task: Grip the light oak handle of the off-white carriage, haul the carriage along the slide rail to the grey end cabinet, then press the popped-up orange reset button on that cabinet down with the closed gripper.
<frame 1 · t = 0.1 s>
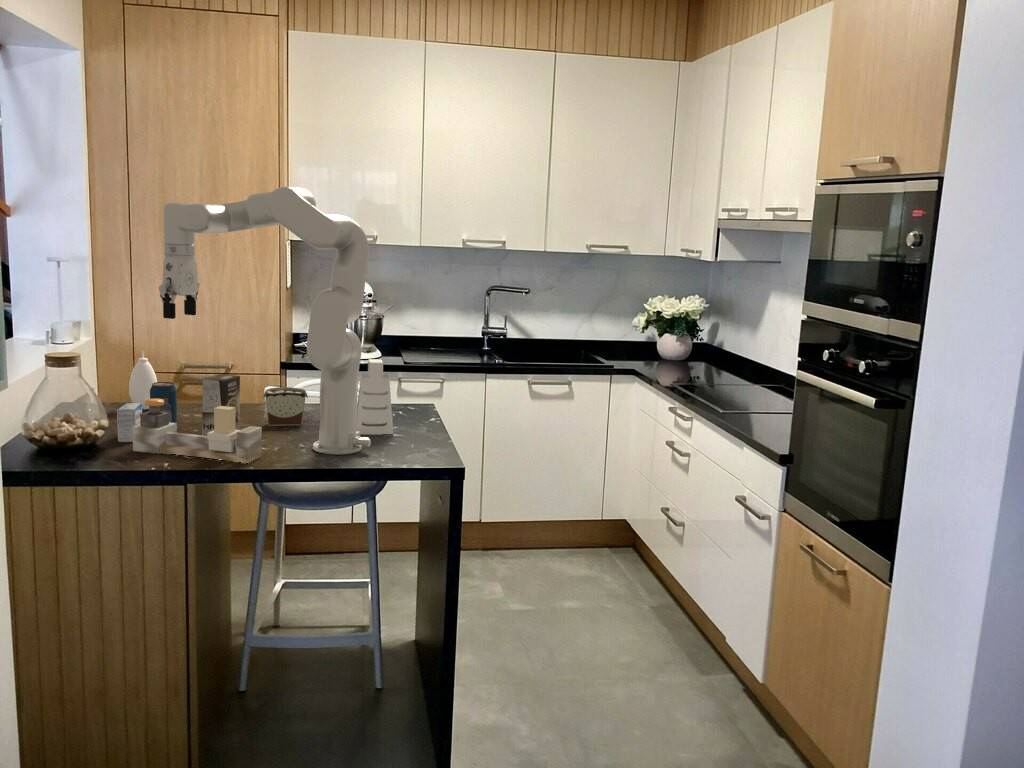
hand: (180, 316, 241), 31 cm above the countertop, tool pointing down, fingers open, 9 cm apart
slide rail: (202, 454, 226), on the countertop
grater: (373, 430, 261), on the countertop
reset button: (154, 407, 226), point 10 cm above the countertop, slide at 0.0 cm
soda can: (163, 427, 251), on the countertop
medicine box: (130, 439, 236), on the countertop
sauce bottle: (143, 410, 269), on the countertop
coffee box: (221, 436, 244), on the countertop
food container: (284, 423, 263), on the countertop
carriage: (224, 428, 223), point 7 cm above the countertop, slide at 0.0 cm
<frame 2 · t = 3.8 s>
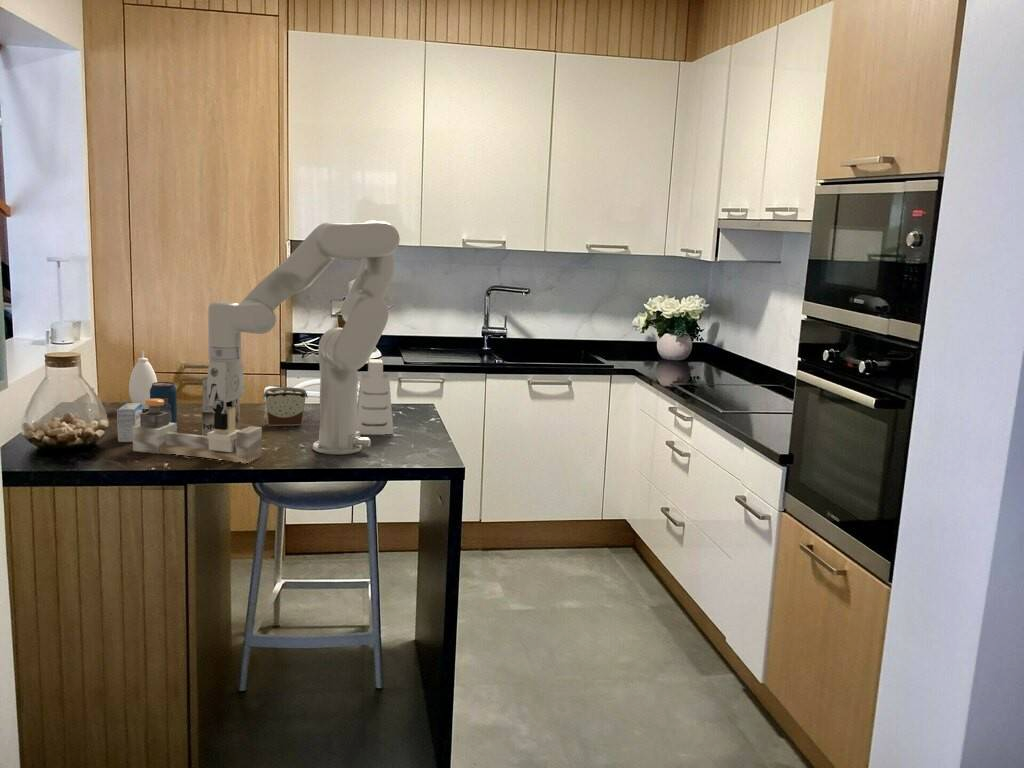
hand: (224, 426, 223), 8 cm above the countertop, tool pointing down, fingers closed on carriage, 3 cm apart
carriage: (224, 428, 223), point 7 cm above the countertop, slide at 0.0 cm, touching gripper
everything else where it was.
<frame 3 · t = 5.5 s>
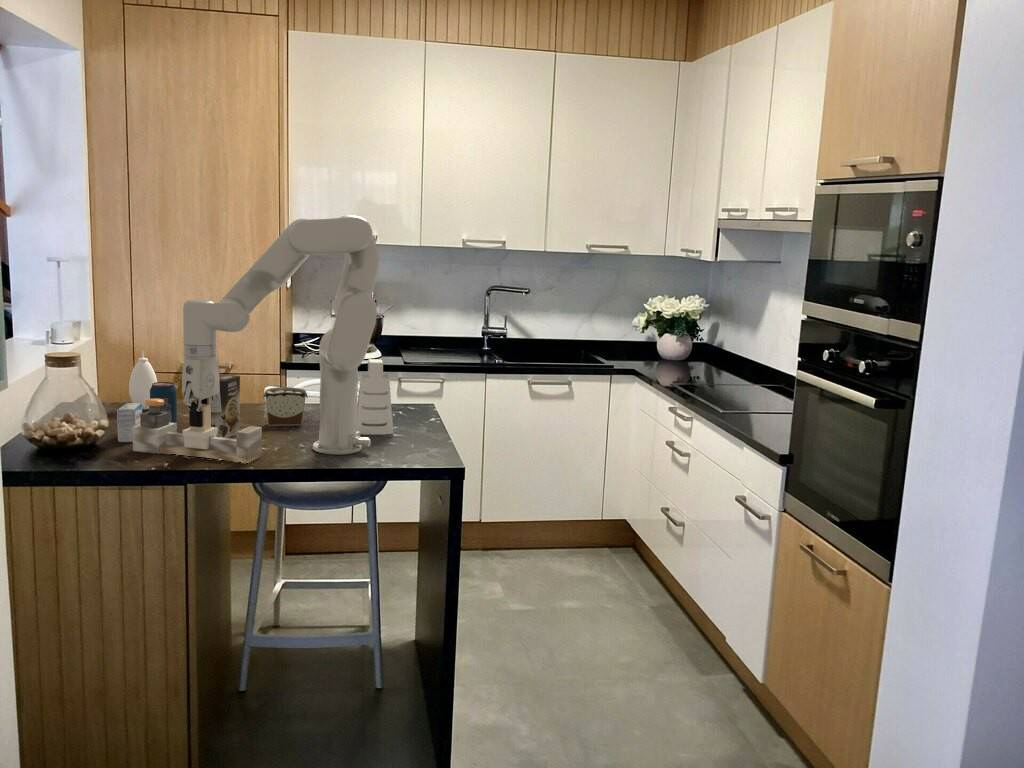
hand: (200, 424, 224), 8 cm above the countertop, tool pointing down, fingers closed on carriage, 3 cm apart
carriage: (200, 425, 224), point 7 cm above the countertop, slide at 6.6 cm, touching gripper
everything else where it was.
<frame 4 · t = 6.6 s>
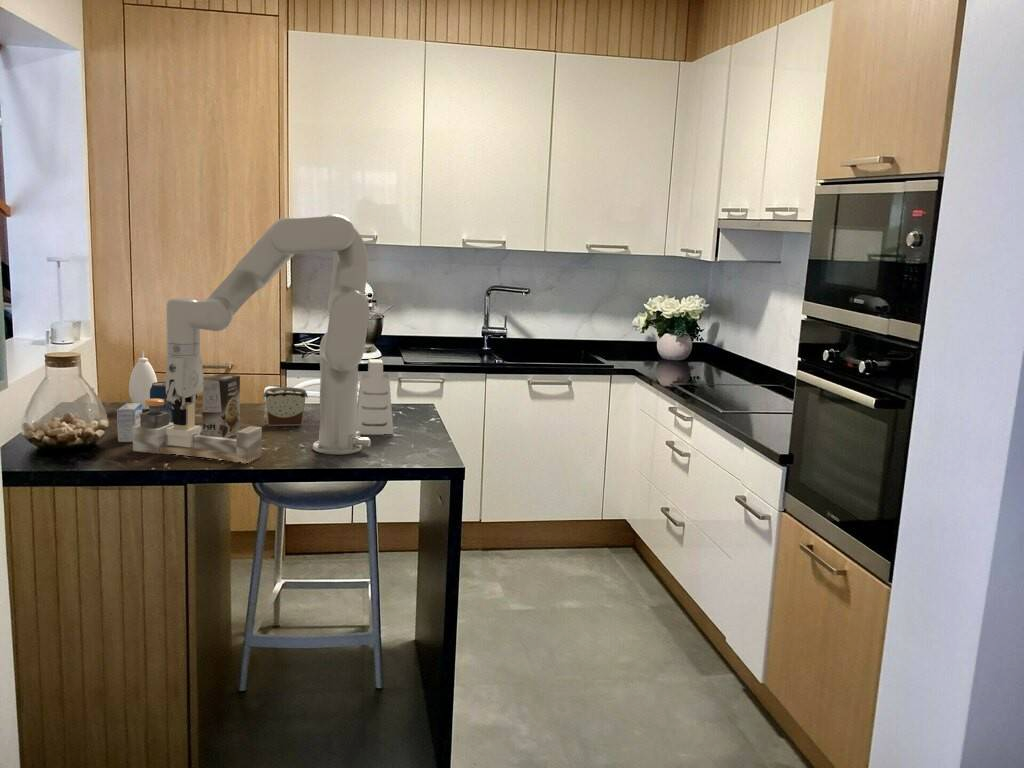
hand: (184, 422, 225), 8 cm above the countertop, tool pointing down, fingers closed on carriage, 3 cm apart
carriage: (184, 423, 225), point 7 cm above the countertop, slide at 11.0 cm, touching gripper
everything else where it was.
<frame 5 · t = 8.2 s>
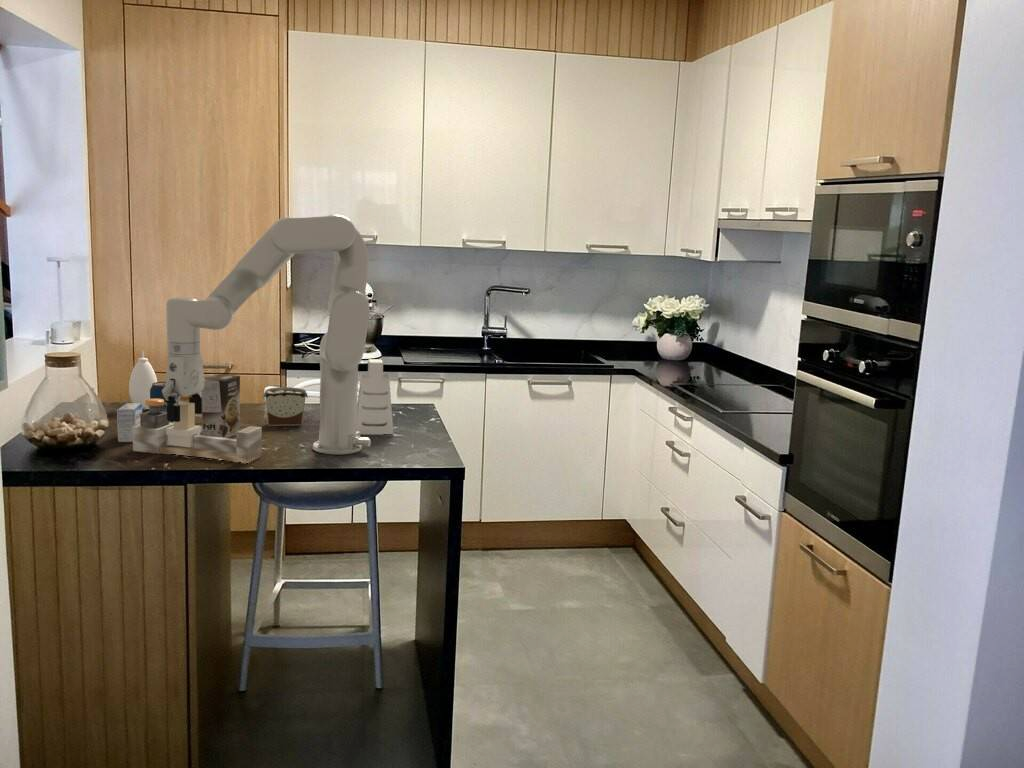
hand: (184, 417, 225), 9 cm above the countertop, tool pointing down, fingers open, 9 cm apart
carriage: (184, 423, 225), point 7 cm above the countertop, slide at 11.0 cm
everything else where it was.
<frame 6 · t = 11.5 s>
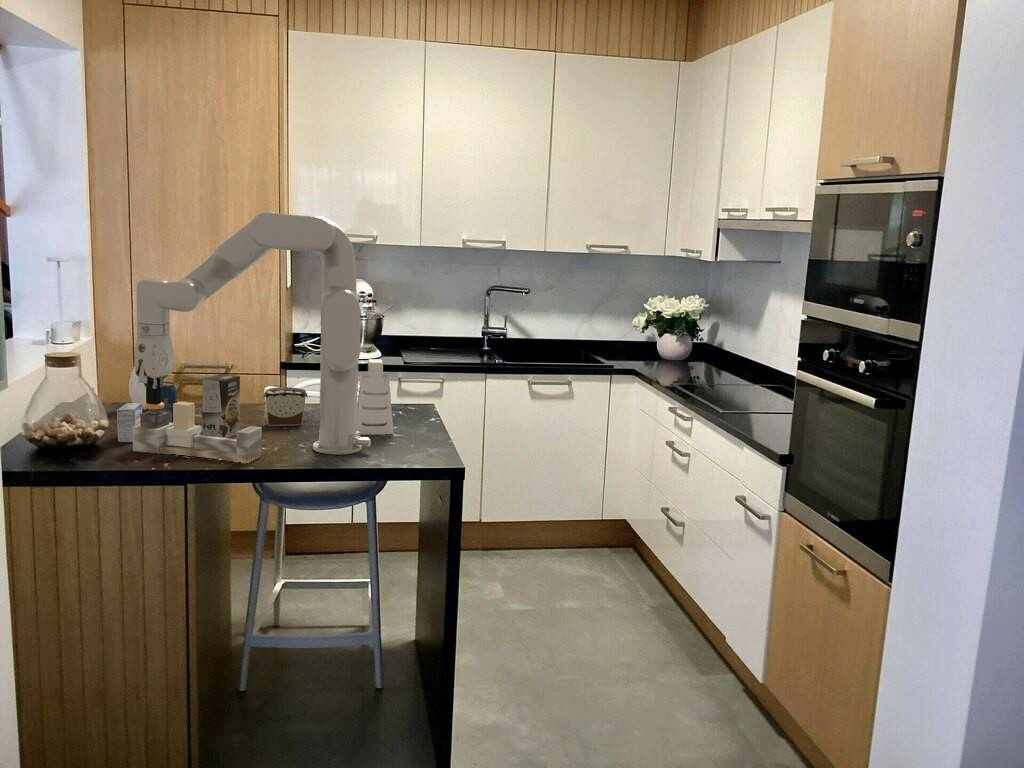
hand: (153, 403, 226), 12 cm above the countertop, tool pointing down, fingers closed
reset button: (154, 411, 226), point 10 cm above the countertop, slide at 0.8 cm, touching gripper
everything else where it was.
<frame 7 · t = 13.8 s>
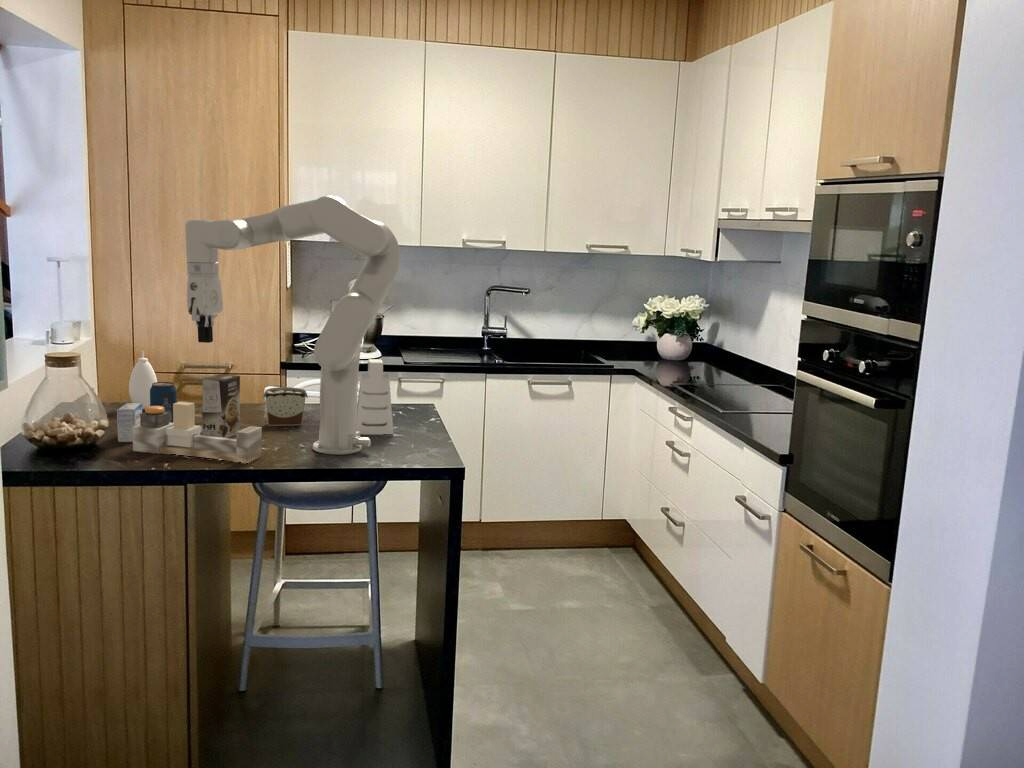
hand: (205, 341, 232), 26 cm above the countertop, tool pointing down, fingers closed
reset button: (154, 415, 227), point 9 cm above the countertop, slide at 1.9 cm
everything else where it was.
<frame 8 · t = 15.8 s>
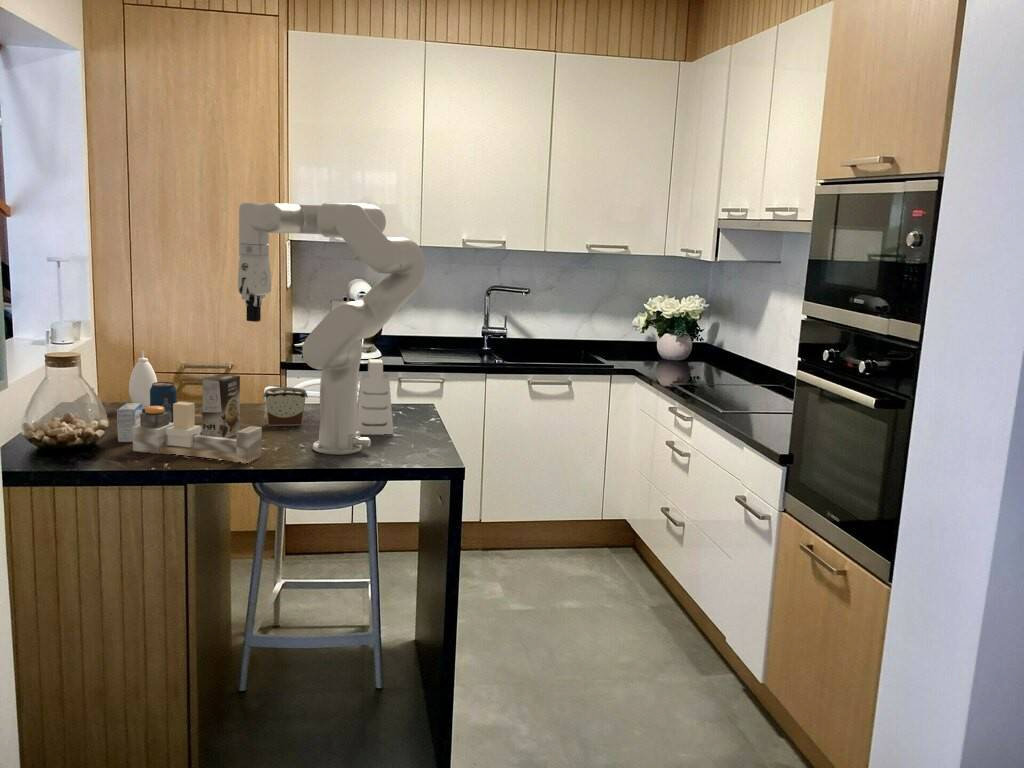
hand: (253, 320, 241), 31 cm above the countertop, tool pointing down, fingers closed
nothing on the countertop moved.
at the end: carriage slide at 11.0 cm; reset button slide at 1.9 cm; the gripper is holding nothing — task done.
